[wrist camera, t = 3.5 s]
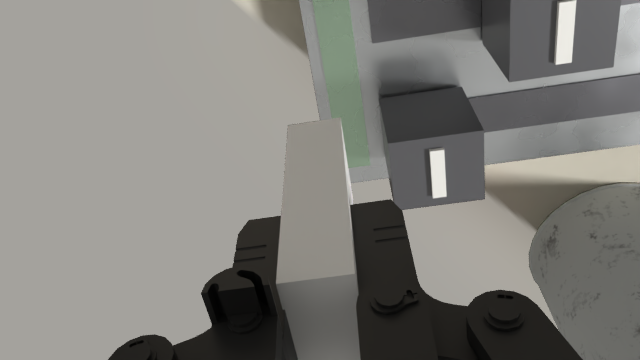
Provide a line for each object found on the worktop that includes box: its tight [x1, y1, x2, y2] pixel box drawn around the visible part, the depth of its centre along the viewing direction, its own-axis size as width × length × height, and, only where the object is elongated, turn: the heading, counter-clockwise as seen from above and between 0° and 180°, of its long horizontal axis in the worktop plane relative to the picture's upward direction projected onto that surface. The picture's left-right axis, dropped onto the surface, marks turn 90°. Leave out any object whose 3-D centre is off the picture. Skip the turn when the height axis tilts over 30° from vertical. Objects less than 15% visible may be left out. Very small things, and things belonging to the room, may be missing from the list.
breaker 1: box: [379, 87, 485, 210], centre depth 27 cm, size 4×4×5 cm
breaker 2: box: [482, 0, 621, 82], centre depth 24 cm, size 4×4×5 cm
